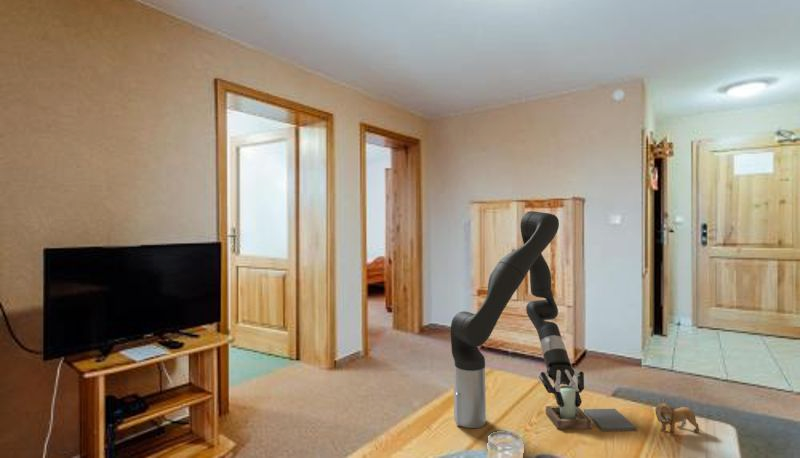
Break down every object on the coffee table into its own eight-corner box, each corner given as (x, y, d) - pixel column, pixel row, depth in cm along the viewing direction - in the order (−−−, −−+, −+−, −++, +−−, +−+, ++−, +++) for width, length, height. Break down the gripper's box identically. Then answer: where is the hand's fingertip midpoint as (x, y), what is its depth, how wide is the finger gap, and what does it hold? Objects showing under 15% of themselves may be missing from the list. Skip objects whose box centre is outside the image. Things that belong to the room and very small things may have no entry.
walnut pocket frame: (558, 429, 121) (557, 421, 121) (545, 413, 131) (545, 406, 131) (591, 428, 121) (591, 420, 121) (576, 413, 131) (576, 405, 131)
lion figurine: (667, 441, 114) (667, 408, 114) (649, 432, 119) (649, 401, 119) (704, 431, 119) (704, 400, 119) (686, 423, 124) (686, 393, 124)
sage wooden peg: (563, 425, 124) (563, 391, 124) (557, 417, 128) (557, 385, 128) (578, 424, 124) (577, 391, 124) (572, 417, 128) (571, 385, 128)
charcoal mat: (602, 430, 120) (602, 428, 120) (583, 411, 132) (583, 409, 132) (636, 430, 120) (636, 427, 120) (614, 411, 132) (614, 408, 132)
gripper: (535, 347, 133) (549, 401, 121) (579, 347, 133) (598, 400, 121) (530, 358, 138) (543, 411, 127) (573, 358, 139) (590, 410, 127)
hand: (570, 405), depth 124 cm, fingers closed on sage wooden peg, 4 cm apart
